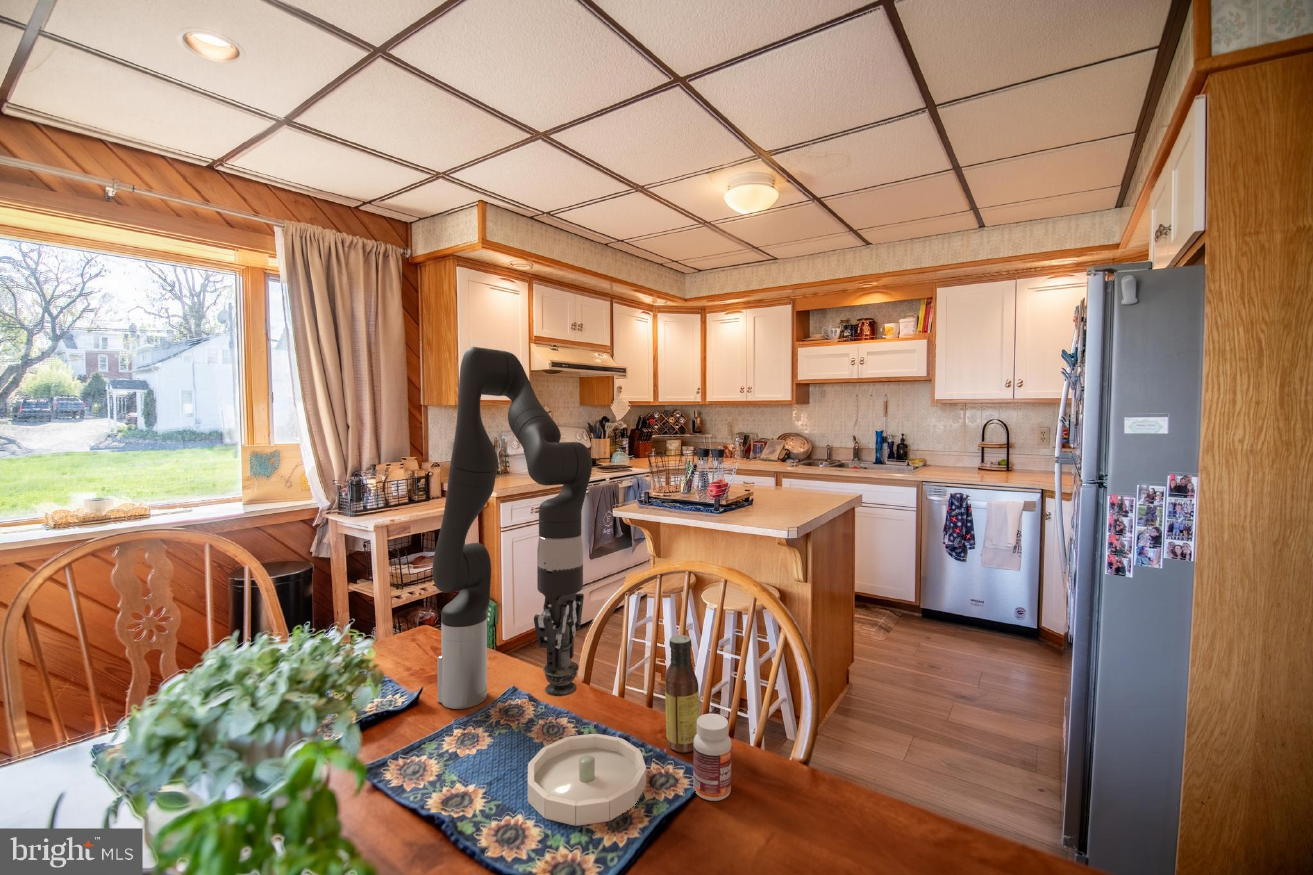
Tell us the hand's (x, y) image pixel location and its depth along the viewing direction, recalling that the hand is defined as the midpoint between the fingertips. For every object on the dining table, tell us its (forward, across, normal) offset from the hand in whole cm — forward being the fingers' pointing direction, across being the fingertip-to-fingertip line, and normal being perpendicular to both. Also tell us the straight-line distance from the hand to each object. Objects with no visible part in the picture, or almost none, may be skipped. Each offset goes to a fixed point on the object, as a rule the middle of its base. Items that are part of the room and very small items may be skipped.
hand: (560, 663), depth 95 cm
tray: (+19, 0, +5) cm, 20 cm away
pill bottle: (+20, -5, +25) cm, 32 cm away
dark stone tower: (+4, 0, 0) cm, 4 cm away
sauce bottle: (+20, -16, +17) cm, 30 cm away
